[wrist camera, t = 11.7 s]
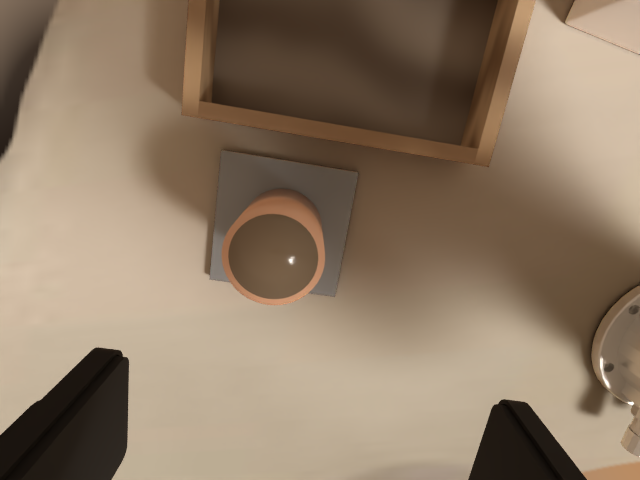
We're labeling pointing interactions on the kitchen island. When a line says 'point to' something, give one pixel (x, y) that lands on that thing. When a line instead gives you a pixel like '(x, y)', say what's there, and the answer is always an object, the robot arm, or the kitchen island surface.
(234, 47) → the box
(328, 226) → the slate tile
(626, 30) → the milk carton
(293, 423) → the kitchen island surface
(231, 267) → the pot
